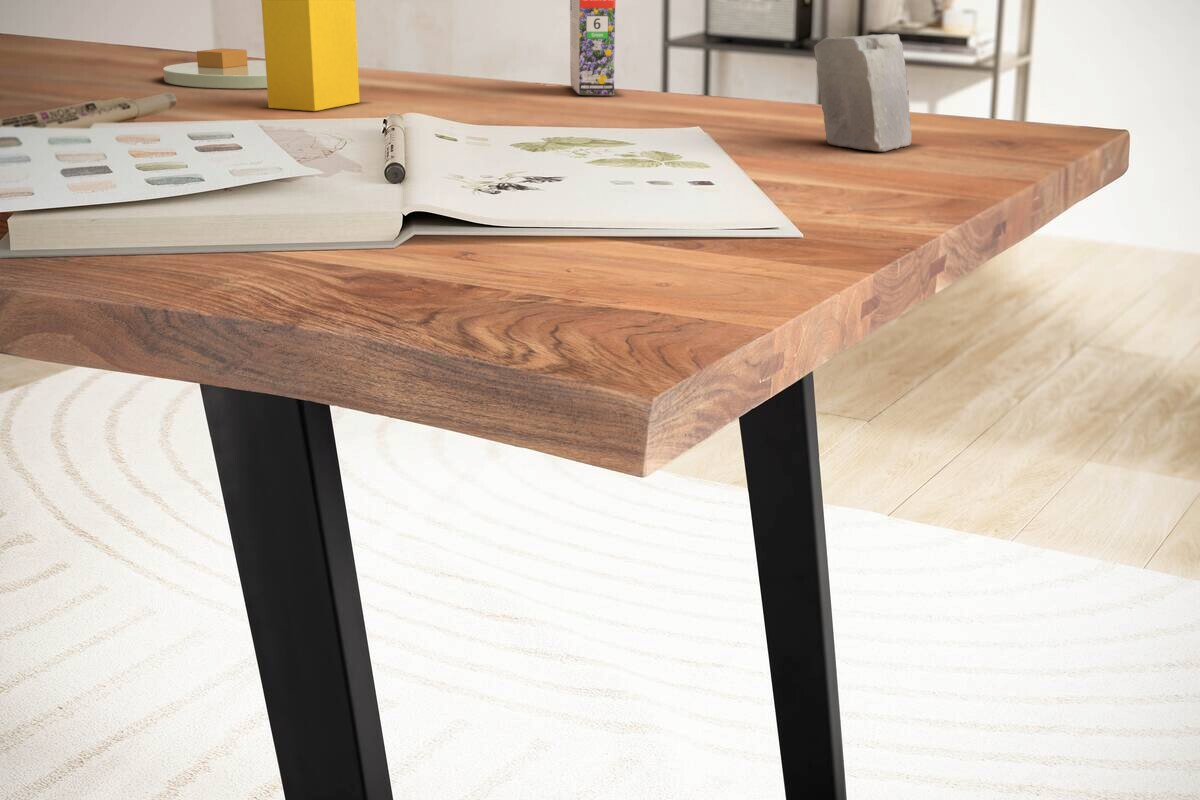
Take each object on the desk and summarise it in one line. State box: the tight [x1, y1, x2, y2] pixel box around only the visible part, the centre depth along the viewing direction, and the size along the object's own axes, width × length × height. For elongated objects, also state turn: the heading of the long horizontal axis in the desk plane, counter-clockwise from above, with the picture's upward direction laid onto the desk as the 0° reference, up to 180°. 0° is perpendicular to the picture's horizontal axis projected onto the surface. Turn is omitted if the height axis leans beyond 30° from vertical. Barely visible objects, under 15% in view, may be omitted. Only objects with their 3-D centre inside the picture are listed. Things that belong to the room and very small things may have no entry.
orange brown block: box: [196, 47, 248, 68], centre depth 126 cm, size 3×4×2 cm
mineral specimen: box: [813, 32, 913, 152], centre depth 91 cm, size 7×9×8 cm
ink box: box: [569, 0, 616, 96], centre depth 119 cm, size 4×8×15 cm, turn 7°
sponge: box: [261, 0, 360, 112], centre depth 106 cm, size 4×7×11 cm, turn 159°
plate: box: [162, 59, 267, 90], centre depth 126 cm, size 16×16×1 cm
